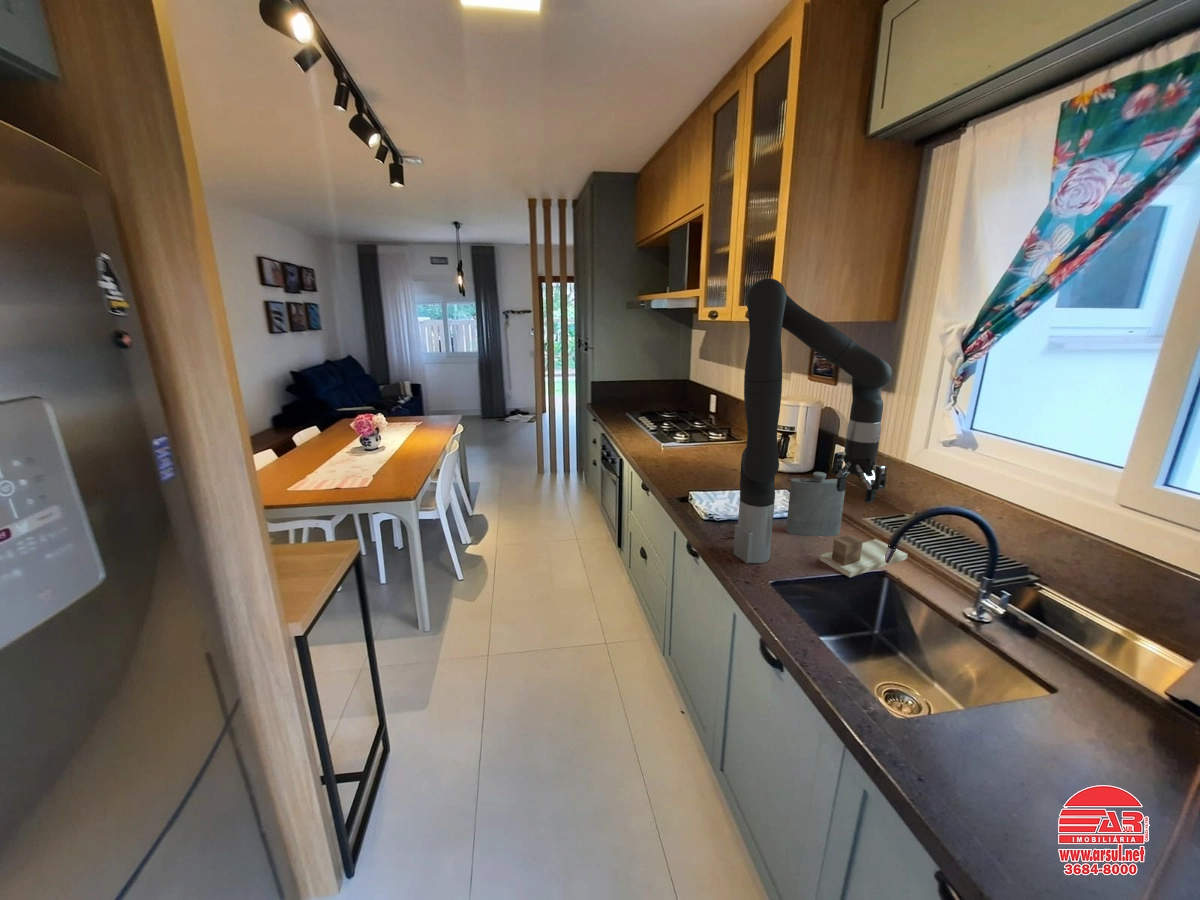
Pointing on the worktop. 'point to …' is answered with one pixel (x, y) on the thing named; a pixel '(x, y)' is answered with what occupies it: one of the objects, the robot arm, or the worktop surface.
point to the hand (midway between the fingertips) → (854, 496)
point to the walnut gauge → (847, 549)
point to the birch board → (865, 559)
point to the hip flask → (814, 506)
